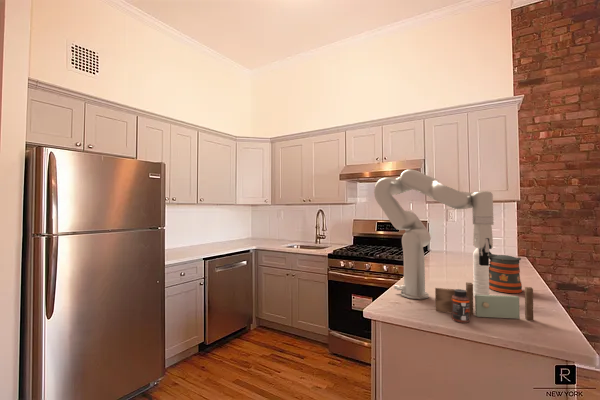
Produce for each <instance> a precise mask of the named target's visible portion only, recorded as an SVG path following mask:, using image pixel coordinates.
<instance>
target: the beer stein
mask: <svg viewBox="0 0 600 400" xmlns="http://www.w3.org/2000/svg"><path fill="white" fill-rule="evenodd" d="M521 260H522V258H521V257H515V256H513V255H512V256H511V255H506V254H493V253H492V252H491V251H490V252H489V290H491V291H496V292H499V293H504V294H514V295H515V294H521V293H522V292H523V288H522V287H523V285H522V281H521V276H520V273H521V270H520V263H521V262H520V261H521Z"/></svg>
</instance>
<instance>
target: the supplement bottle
mask: <svg viewBox="0 0 600 400" xmlns="http://www.w3.org/2000/svg"><path fill="white" fill-rule="evenodd" d="M454 289H455V292H454V293H455V294H454V295H453V296H452V313H451V319H452V320H453V322H456V323H461V324H467V323H469V322H470V320H471V319H470V316H471V315H470V312H469V297H467V296H466V291H465V290H466V289H460V288H454Z"/></svg>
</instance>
